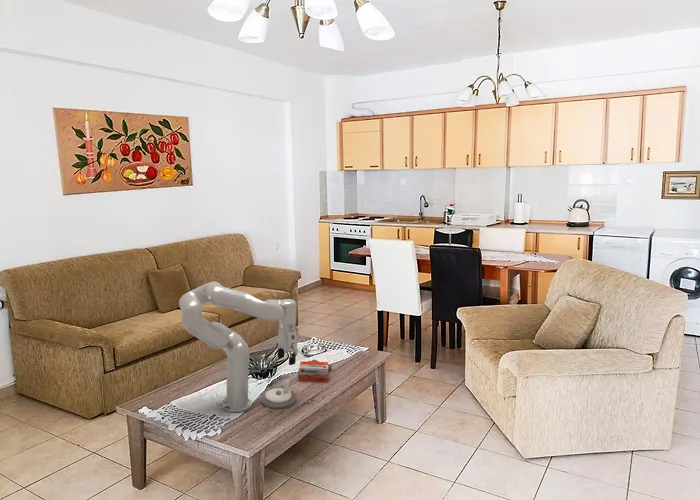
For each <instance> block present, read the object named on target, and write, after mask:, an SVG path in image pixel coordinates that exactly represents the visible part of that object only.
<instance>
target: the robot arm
mask: <svg viewBox="0 0 700 500" xmlns="http://www.w3.org/2000/svg"><path fill="white" fill-rule="evenodd" d="M208 303H209V304H211V305H213V306H217V307H221V308H226V309H230V310H232V311H233V310H234V311H237V312H241V313H244V314H247V315H249V316H252V317H254V318H258V319H262V320H265V321H268V322H269V321H270V322H278V323H279V324H278V334H277V337H276V338H275V341H276V346H277V358H278V359H281V358H284V357H285V352H287V353H288V354H289V357H288V365H289V366H292V365H295V364H296V357H297V355H298V352H299V349H298V338H297V337H298V336H297V330H296V319H297V317H296V315H297V302H296V301H295V300H294V299H291V298H284V299H275V298H274V299H272V298H271V299H270V298H269V299H266V300H264V301H263V300H261V299H258V298H257V297H254V296H253V295H252V294H250V293H247V292H245V291H241V290H237V289H235V288H234V289H233V288H231V287H225V286H223V285H222V284H221V283H219V282H218V281H210V282H207V283H205V284H202V285H200V286H197V287H195V288H194V289H192V290H190V291H188V292H186V293H184V294H182V296H181V297H180V298H179V301H178V305H179V308H180V311H181V324H182V327H183V329H185V331H186V332H188V333H189V334H190V335H192V336H193V337H195V338H197V339H198V340H199V341H202V342H203V343H205V344H206V345H208V346H210V347H211V348H213V349H214V350H215V349H216V350H223V351H224V352H225V353H226V356H227V357H226V358H227V362H226V396H225V397H224V399H222V401H218V402H216V403H215V404H216V407H221V408H222V409H224V410H225V411H227V412H229V413H243V412H246V411H249V410H250V408H251V407H252V405H253V404H252V401H251V399H249V364H250V363H249V362H250V355H251V354H250V353H251V352H250V348H249V345H248V344H247V342H246V341H245V340H244V338H243V337H242V336H241V335H240V334H239V333H237V332H235V331H234V330H233V329H231V328H229V327H228V326H226V325H224V324H223V323H221V322H218V321H209V320H208V319H206V318H205V317H203V306H204V305H207V304H208Z"/></svg>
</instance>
